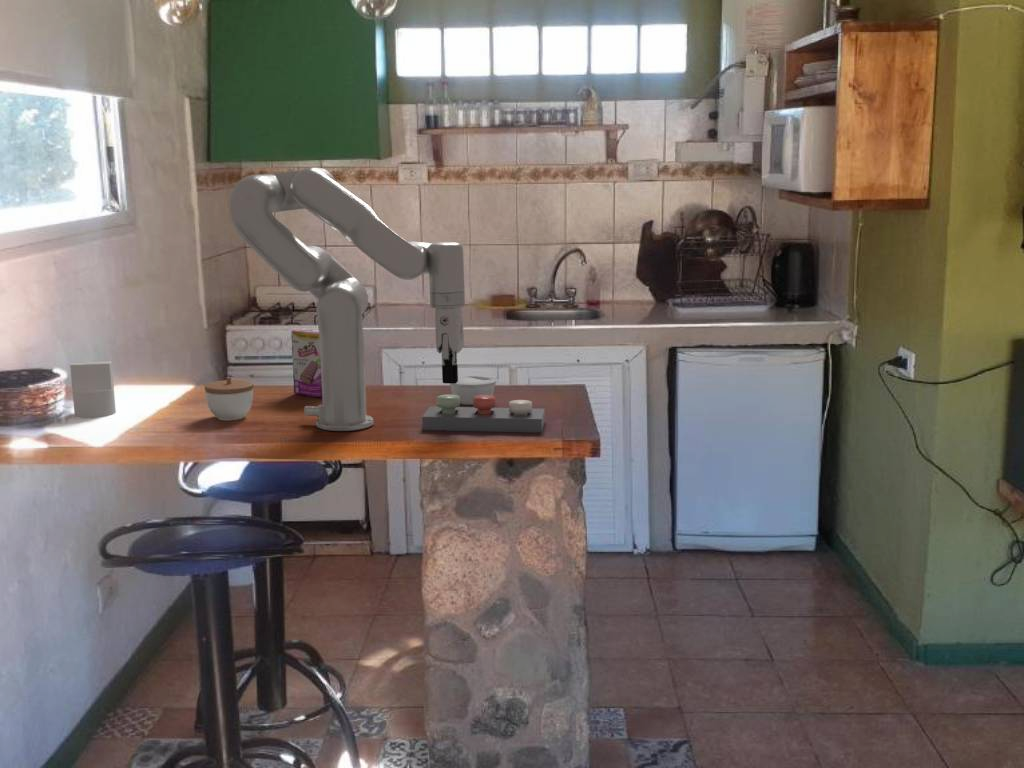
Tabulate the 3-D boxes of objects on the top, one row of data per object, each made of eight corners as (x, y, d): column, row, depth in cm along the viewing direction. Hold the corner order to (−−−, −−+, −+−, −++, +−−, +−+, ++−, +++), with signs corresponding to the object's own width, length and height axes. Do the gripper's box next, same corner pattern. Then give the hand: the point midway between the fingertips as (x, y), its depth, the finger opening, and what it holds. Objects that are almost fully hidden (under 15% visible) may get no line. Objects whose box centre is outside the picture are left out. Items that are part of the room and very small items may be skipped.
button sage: (435, 420, 235) (435, 399, 234) (439, 415, 240) (439, 394, 239) (458, 421, 234) (457, 399, 233) (461, 416, 239) (461, 394, 238)
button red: (471, 421, 234) (471, 399, 233) (474, 416, 239) (474, 394, 238) (494, 422, 234) (494, 400, 233) (497, 416, 238) (496, 395, 238)
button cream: (508, 426, 234) (508, 404, 233) (510, 421, 238) (510, 399, 237) (530, 427, 233) (530, 405, 232) (532, 421, 238) (532, 400, 237)
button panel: (422, 430, 233) (422, 416, 232) (430, 419, 243) (430, 406, 242) (541, 432, 230) (541, 419, 230) (544, 421, 240) (544, 408, 240)
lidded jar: (200, 423, 240) (198, 382, 238) (214, 412, 251) (211, 372, 249) (248, 423, 240) (246, 382, 238) (259, 412, 251) (257, 372, 249)
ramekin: (500, 397, 266) (500, 376, 264) (488, 407, 255) (488, 385, 254) (457, 395, 268) (457, 374, 267) (444, 405, 258) (443, 383, 257)
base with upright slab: (118, 408, 255) (114, 358, 252) (112, 417, 246) (108, 365, 244) (78, 410, 253) (73, 360, 250) (71, 419, 244) (66, 367, 242)
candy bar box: (292, 394, 269) (289, 330, 266) (306, 391, 273) (303, 327, 270) (327, 399, 264) (324, 333, 260) (340, 395, 268) (338, 331, 264)
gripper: (459, 304, 224) (462, 389, 228) (469, 295, 239) (471, 376, 242) (424, 304, 225) (427, 389, 229) (436, 295, 239) (439, 376, 243)
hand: (450, 382), depth 235 cm, fingers closed
